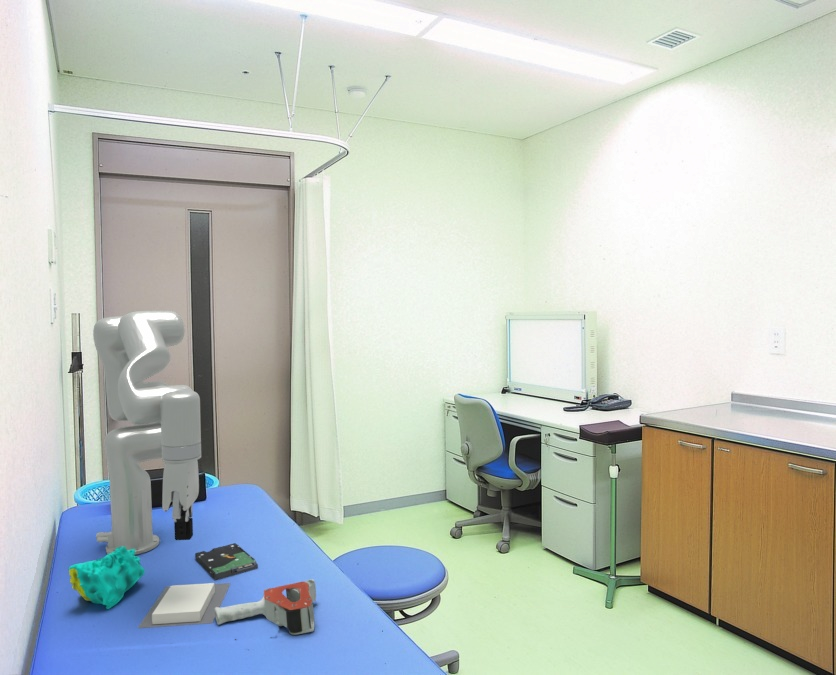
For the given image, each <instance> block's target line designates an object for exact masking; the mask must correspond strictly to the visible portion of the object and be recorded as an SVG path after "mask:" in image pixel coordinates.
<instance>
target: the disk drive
mask: <svg viewBox="0 0 836 675" xmlns="http://www.w3.org/2000/svg"><path fill="white" fill-rule="evenodd" d="M194 558H195V561H196V562H197V563H198V564H199V565H200V566H201V568H202V569H204V570H205V572H206V573H207V574H208V575H209V576H210V578H211V579H213V581H220V580H223V579H227V578H229V577H233V576H235V575H240V574H243V573H247V572H250V571H253V570H257V569H259V567H258V566H259V565H258V563H257V561H256V560H255V558H254V557H253V556H251V555H250V554H249V553H248V552H247V551H245V549H243V548H242V547H241V546H240V545H239V544H237V543H236V542H234V543H231V544H227V545H223V546H219V547H214V548H212V549H211V550H210V551H205V550H202V551H199V552H195V554H194Z"/></svg>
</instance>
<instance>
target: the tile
mask: <svg viewBox="0 0 836 675" xmlns="http://www.w3.org/2000/svg"><path fill="white" fill-rule="evenodd" d="M215 584H216V583H214V582H211V583H210V582H209V583H193V584H177V585H175V584H174V585H173V584H172V585H170V586H169V587H170V588H169V590H168V591H167V593H166V594H165V596H164V597H163V599H162V600H161V602H160V603H159V605H158V606H157V608H156V609H155V611H154V612H153V614H152V624H166V623H182V622H197V621H201V619H202V617H203V615H204V613H205V611H206V609H207V607H208V605H209V603H210V601H211V599H212V597H213V595H214V593H215Z"/></svg>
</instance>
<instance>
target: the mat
mask: <svg viewBox="0 0 836 675" xmlns="http://www.w3.org/2000/svg"><path fill="white" fill-rule="evenodd" d="M170 587H171V586H165V587H164V589H163V590H162V591H161V593H160V594H159V596H158V597H157V598H156V600H155V601H154V603H153V604H152V606H151V607H150V609H149V610H148V612H147V613H146V615H145V616H144V617H143V619H142V620H141V622H140V624H139V625H138V626H137V629H147V628H148V629H150V628H162V627H177V626H178V627H179V626H195V625H208V624H213V622H214V621H215V620H216V618H215V610H214V609H215V608H216V607H221V606H222V604H223V601H224V599H225V597H226V594H227V592H228V591H229V590H228V589H230V587H231V582H223V583H215V593H214V595H213V597H212V599H211V601H210V603H209V605H208V607H207V609H206V611H205V613H204V615H203V617H202V619H201V621H197V622H182V623H166V624H152V614H153V612H154V611H155V609H156V608H157V606H158V605H159V603H160V602H161V600H162V599H163V597H164V596H165V594H166V593H167V591H168V590H169V588H170Z"/></svg>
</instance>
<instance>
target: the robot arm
mask: <svg viewBox="0 0 836 675" xmlns="http://www.w3.org/2000/svg"><path fill="white" fill-rule="evenodd" d="M185 330H186V329H185V325H184V322H183V319H182V317H181V315H180V314H178V313H177V312H175V311H173V310H137V311H131V312H128V313H126V314H124V315H121V316H120V315H118V316H117V315H116V316H107V317H103V318H101V319H99V320H97V321H96V322H95V324H94V326H93V330H92V331H93V334H92V335H93V342H94V347H95V349H96V352H97V355H98V356H99V358H100V360H101V363H102V365H103V366H102V367H103V368H104V376H105V377H104V379H105V391H106V392H105V393H106V394H105V395H106V403H107V404H106V405H107V410H108V415H109V417H110V418H111V419H112V420H113V421H116V422H129V423H130V424H134V425H128V426H121V427H117V428H114V429H112V430H110V431H109V432H108V433H106V435H105V437H104V440H103V449H104V453H105V458H106V462H107V469H108V478H109V497H110V516H111V519H110V520H111V530H109V532H106V531H100V532H97V533H96V535H95V540H96V542H97V543H107V545H106V546H105V553H106V555H107V554H109V553H112V552H114V551H115V549H116V548H119V547H124V546H125V547H126V549H127V550H131V549H135V555H134V556H137V555H141V554H144V553H147V552H149V551H152V550H153V549H155V548H156V547H158V546H159V544H160V536H158V535H156V534H153V513H152V512H153V510H152V508H153V507H152V485H151V484H152V483H151V477H150V475H149V473H148V472H147V471H146V470H145V469H144V468H143V467H142V466H140V463H144V462H147V461H152V460H153V461H154V460H159V459H161V462H163V463H164V466H163V474H162V496H161V497H162V498H161V500H162V502H161V504H162V505H161V506H162V508H161V510H162V511H163V512H165V513H166V512H168V511H169V510H170V509H171V507H172V512H171V513H172V514H171V516H172V517H171V518H172V520H173V521H174V522H173V524H174V540H175V541H189V540H192V537H193V536H194V528H193V527H194V523H193V520H194V519H193V512H194V511H193V510H194V507H193V506H194V502H195V501H196V500H197V498H198V496H199V492H200V479H199V478H200V477H199V463H198V460H200V459H201V458H202V438H201V437H202V435H201V434H202V433H201V432H202V430H201V428H202V427H201V398H200V395H199V394H198V392H196V391H194V390H193V389H192V388H191V387H190V386H189V385H186V384H174V385H170V384H169V383H167V382H166V381H159V380H158V381H147V382H144V381H145V380H147V379H149V378H152V377H153V376H155V375H157V374H159V373H160V372H162V371H163V370H164V369H166V368H167V366H168V365H169V363H170V361H171V352H170V350H169V347H173V346H177V345H179V344H180V343H181V342H182V341H183V340H184V337H185Z"/></svg>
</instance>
